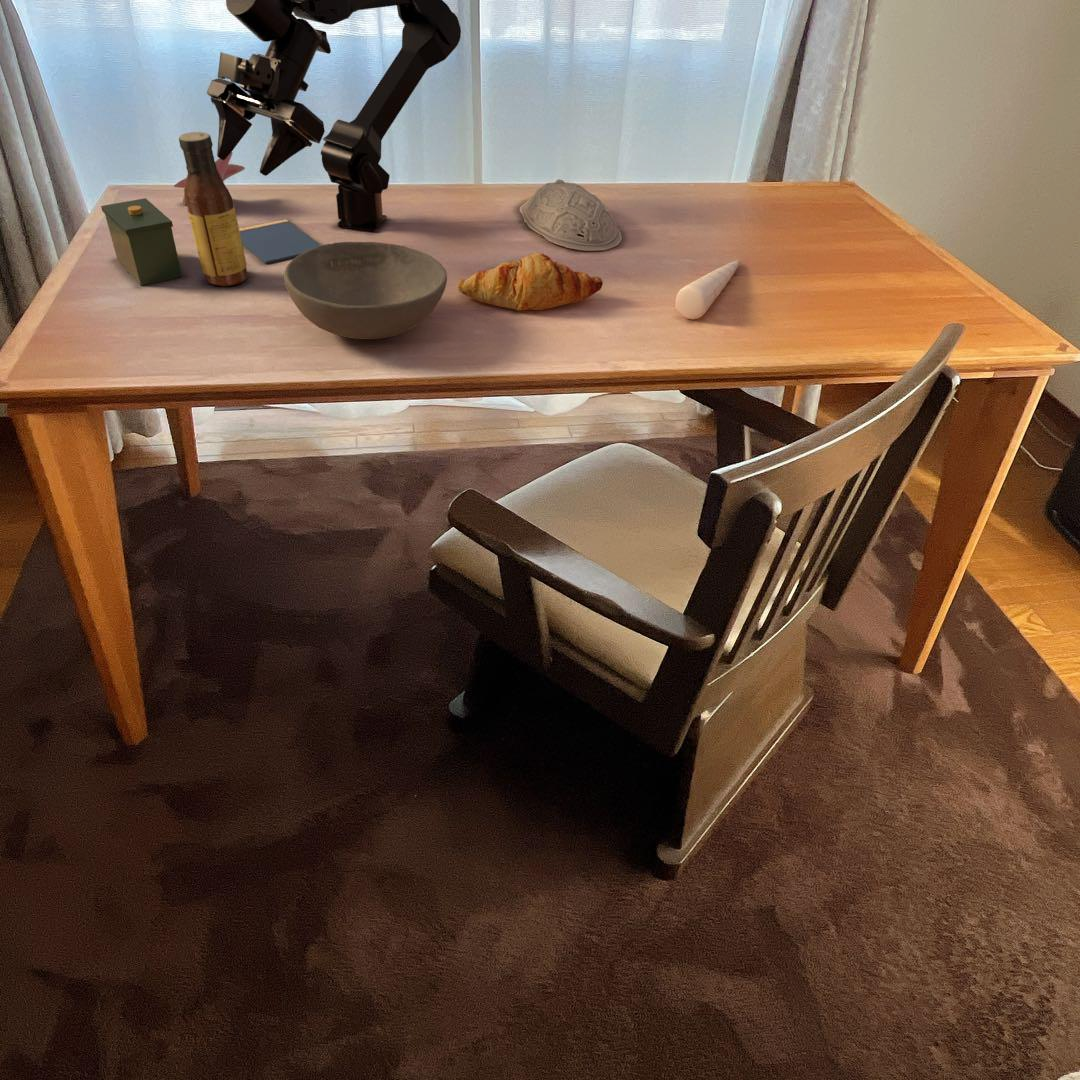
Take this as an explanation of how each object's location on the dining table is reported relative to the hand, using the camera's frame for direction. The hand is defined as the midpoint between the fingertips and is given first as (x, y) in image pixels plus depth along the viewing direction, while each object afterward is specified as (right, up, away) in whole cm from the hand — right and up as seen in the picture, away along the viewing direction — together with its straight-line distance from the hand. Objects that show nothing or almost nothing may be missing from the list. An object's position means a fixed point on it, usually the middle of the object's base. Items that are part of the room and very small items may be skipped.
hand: (241, 166), depth 124 cm
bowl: (+19, -24, -4) cm, 31 cm away
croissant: (+41, -18, +5) cm, 45 cm away
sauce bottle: (-4, -15, +4) cm, 16 cm away
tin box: (-15, -13, +6) cm, 21 cm away
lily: (-13, +4, +25) cm, 29 cm away
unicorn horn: (+68, -15, +10) cm, 71 cm away
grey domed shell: (+47, +2, +28) cm, 55 cm away
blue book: (0, -5, +15) cm, 16 cm away
